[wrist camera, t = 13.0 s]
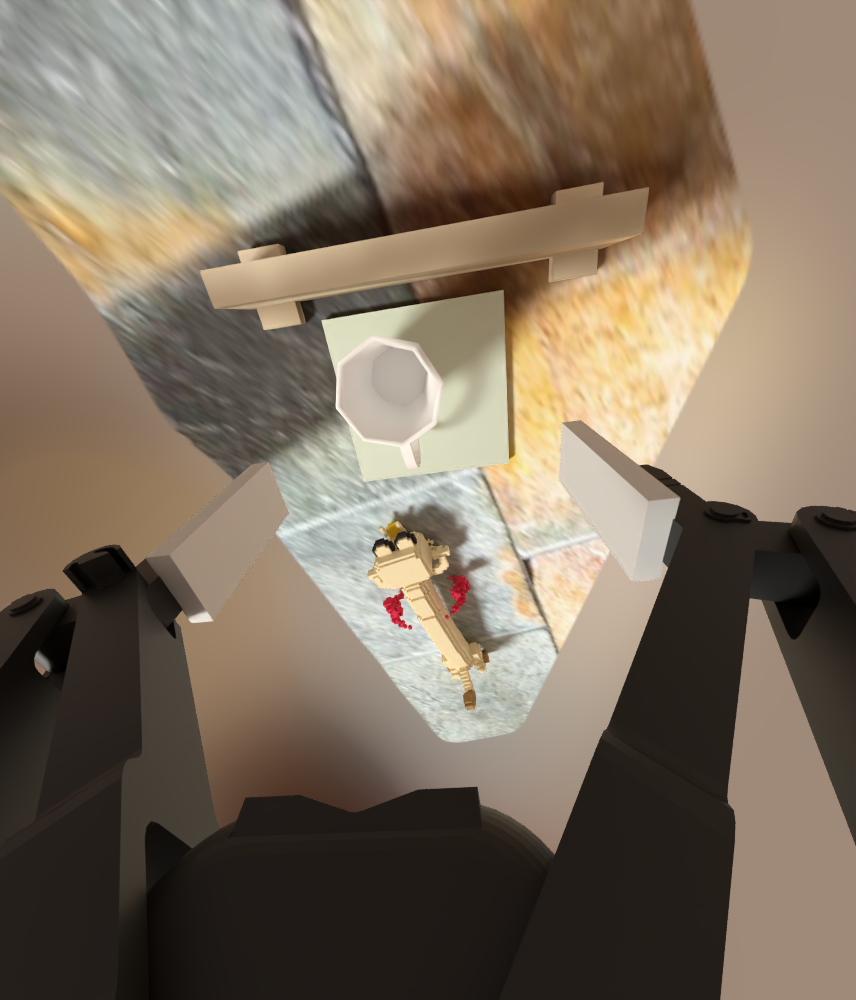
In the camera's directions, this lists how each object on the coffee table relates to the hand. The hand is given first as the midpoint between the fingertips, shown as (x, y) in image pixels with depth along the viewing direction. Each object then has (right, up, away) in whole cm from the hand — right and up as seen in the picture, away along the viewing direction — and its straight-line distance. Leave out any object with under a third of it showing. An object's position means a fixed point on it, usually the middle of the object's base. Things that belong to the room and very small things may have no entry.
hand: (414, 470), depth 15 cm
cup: (-1, +8, +14) cm, 16 cm away
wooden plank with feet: (0, +16, +10) cm, 19 cm away
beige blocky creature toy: (+1, -13, +26) cm, 29 cm away
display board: (0, +8, +14) cm, 16 cm away
